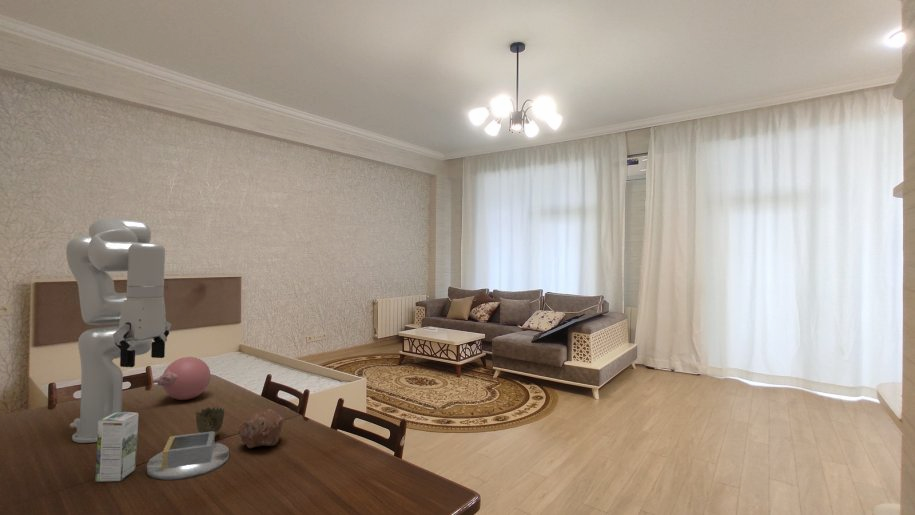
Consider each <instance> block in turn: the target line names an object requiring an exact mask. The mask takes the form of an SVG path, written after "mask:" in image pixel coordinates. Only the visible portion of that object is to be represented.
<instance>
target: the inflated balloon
mask: <svg viewBox="0 0 915 515" xmlns="http://www.w3.org/2000/svg"><path fill="white" fill-rule="evenodd" d="M211 375H212V374H211V370H210V367H209V366H208V365H207V363H206V362H205V361H203V360H202V359H200V358H197V357H194V356H185V357H181V358H178V359H176V360H174V361H173V362H171V363H170V364H168V366H167V367H166V368H165V370H164V372H163V373H162V375H160V376H159V377H157V378H154V379H153V380H152V383H153V384H156V383H157V386H161V387H162V389H163V391H164V392H165V394H166V395H167V396H168V397H171V399H174V400H177V401H187V400H192V399H194V398H196V397H198V396H200V395H202V393H203V392H204V391H205V390H206V389H207V388H208V386H209V385H210V382H211V381H210V380H211Z"/></svg>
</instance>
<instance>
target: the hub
mask: <svg viewBox="0 0 915 515" xmlns="http://www.w3.org/2000/svg"><path fill="white" fill-rule="evenodd" d="M215 438H216V437H215V431H211V432H203V433H200V432H197V433H188V434H186V433H185V434H179V435H171V436H169V438H168V440H167V442H166V443H165V445H164V448H163V451H161V452H159V453H157V454H155V455H154V456H153V457H151V458H150V459H149V460H148V462H147V464H146V474H147V475H148V476H149V477H151V478H153V479H157V480H161V481H162V480H163V481H165V480H166V481H169V480H170V481H171V480H172V481H173V480H175V481H177V480H185V479H189V478H194V477H198V476H201V475H204V474H207V473H210V472H213V471H215V470H216V469H218V468H220V467H221V466H223V465H224V464H225V463H226V462H227V461H228V459H229V456H230V453H229V451H230V450H229V447H228V446H227V445H226V444H224V443H223V444H222V443H221V442H220V443H219V442H215Z"/></svg>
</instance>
